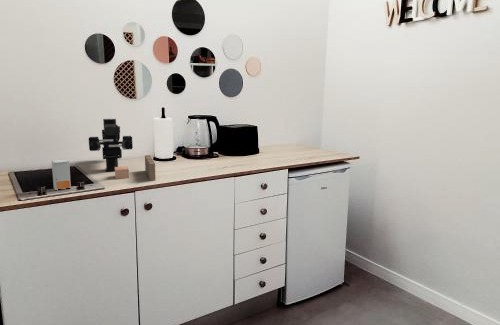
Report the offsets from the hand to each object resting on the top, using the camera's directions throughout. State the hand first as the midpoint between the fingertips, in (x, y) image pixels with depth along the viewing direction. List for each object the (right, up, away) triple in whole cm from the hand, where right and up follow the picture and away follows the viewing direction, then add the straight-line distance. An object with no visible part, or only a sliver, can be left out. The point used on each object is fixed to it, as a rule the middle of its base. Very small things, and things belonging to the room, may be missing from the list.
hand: (111, 146), depth 160 cm
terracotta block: (0, -14, +13) cm, 20 cm away
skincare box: (-17, -18, -8) cm, 27 cm away
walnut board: (+12, -13, +18) cm, 25 cm away
